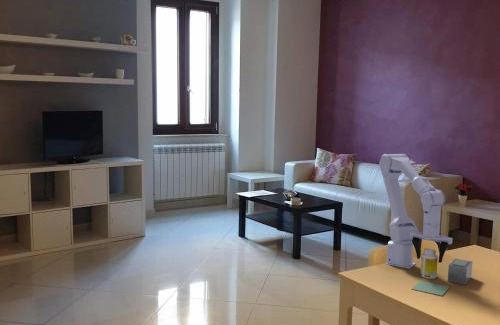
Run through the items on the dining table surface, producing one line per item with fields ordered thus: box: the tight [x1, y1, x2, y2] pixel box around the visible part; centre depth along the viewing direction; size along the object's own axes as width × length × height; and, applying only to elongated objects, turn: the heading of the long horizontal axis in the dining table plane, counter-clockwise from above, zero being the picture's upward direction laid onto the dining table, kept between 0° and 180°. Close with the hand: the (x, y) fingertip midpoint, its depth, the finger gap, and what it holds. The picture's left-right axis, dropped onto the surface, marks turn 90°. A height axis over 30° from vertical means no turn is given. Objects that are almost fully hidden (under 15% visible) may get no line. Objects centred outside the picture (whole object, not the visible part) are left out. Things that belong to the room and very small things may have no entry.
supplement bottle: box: [420, 247, 439, 280], centre depth 184 cm, size 6×6×10 cm
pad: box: [411, 280, 450, 297], centre depth 172 cm, size 10×10×1 cm
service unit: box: [447, 258, 473, 286], centre depth 182 cm, size 6×10×6 cm, turn 146°
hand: (429, 260), depth 184 cm, fingers open, 7 cm apart
